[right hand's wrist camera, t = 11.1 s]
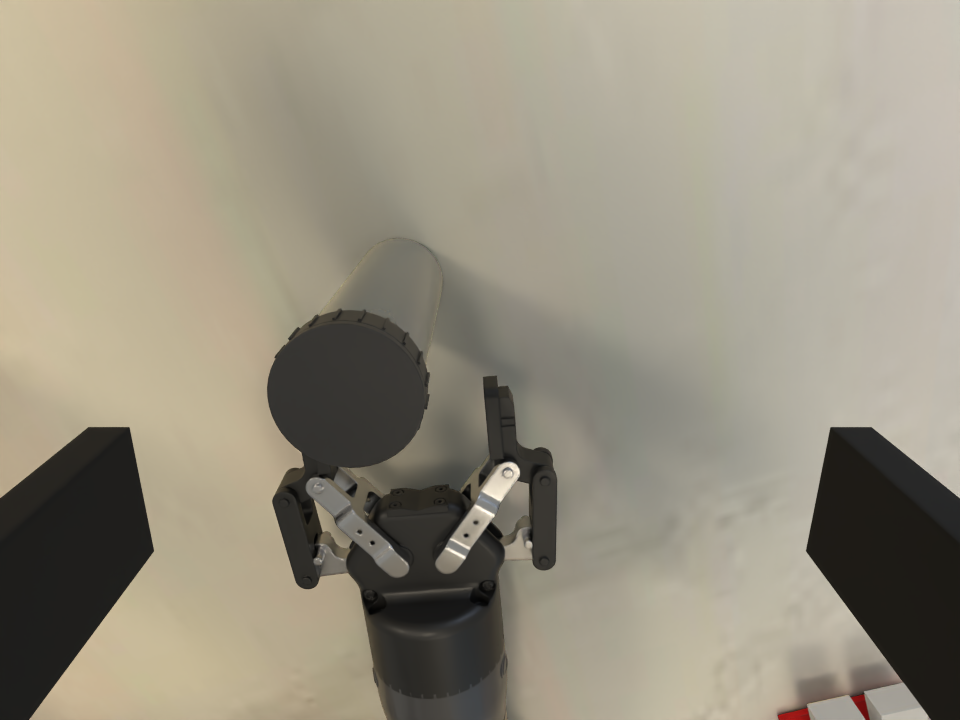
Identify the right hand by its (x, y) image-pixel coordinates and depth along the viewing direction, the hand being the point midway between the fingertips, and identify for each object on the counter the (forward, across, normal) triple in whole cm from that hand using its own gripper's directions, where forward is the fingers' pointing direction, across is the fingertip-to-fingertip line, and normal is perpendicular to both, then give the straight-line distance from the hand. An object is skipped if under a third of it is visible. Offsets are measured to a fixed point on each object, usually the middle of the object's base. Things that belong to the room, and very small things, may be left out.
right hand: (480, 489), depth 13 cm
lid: (+9, +4, +2) cm, 11 cm away
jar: (+25, +4, +2) cm, 26 cm away
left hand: (+19, +4, +6) cm, 20 cm away
